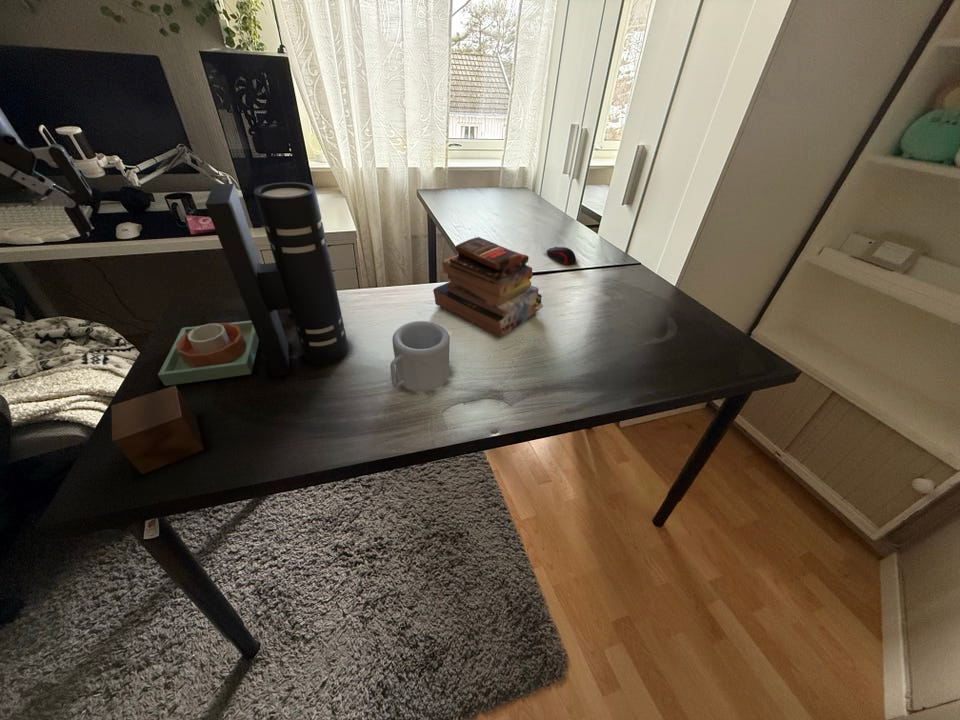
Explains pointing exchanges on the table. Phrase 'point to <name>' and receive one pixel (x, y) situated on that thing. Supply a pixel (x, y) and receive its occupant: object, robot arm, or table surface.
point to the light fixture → (283, 270)
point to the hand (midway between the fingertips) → (41, 241)
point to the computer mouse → (562, 255)
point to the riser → (155, 429)
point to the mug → (420, 356)
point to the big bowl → (216, 357)
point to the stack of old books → (488, 287)
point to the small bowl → (208, 338)
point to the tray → (182, 373)
